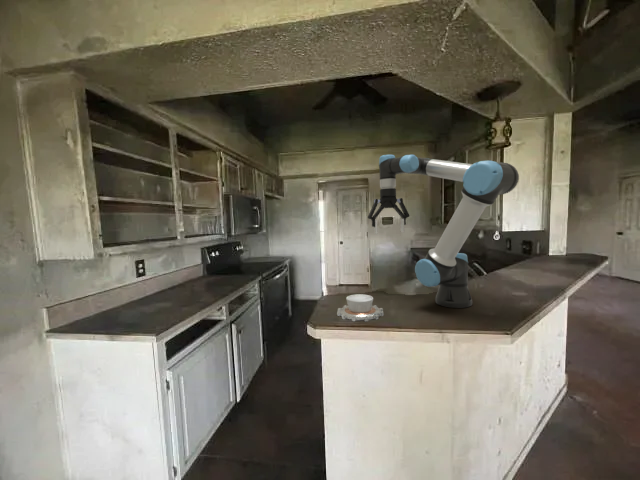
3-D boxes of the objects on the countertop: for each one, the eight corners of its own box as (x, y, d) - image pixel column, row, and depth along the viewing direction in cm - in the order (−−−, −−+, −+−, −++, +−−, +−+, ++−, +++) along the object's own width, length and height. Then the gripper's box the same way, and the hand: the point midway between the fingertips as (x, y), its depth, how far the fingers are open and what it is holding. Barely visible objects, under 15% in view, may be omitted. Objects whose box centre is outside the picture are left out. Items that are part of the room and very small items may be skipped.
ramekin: (373, 314, 126) (373, 301, 125) (345, 313, 128) (344, 301, 127) (373, 306, 137) (373, 294, 136) (347, 305, 139) (347, 294, 138)
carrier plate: (375, 305, 143) (375, 301, 143) (390, 319, 124) (390, 315, 124) (333, 308, 141) (333, 305, 141) (342, 323, 122) (341, 319, 122)
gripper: (408, 188, 157) (409, 231, 158) (360, 189, 152) (361, 233, 154) (416, 187, 149) (416, 231, 151) (365, 188, 145) (366, 234, 147)
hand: (389, 232), depth 152 cm, fingers open, 13 cm apart
